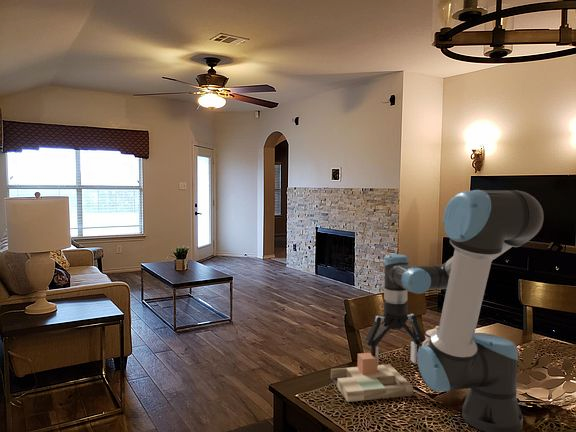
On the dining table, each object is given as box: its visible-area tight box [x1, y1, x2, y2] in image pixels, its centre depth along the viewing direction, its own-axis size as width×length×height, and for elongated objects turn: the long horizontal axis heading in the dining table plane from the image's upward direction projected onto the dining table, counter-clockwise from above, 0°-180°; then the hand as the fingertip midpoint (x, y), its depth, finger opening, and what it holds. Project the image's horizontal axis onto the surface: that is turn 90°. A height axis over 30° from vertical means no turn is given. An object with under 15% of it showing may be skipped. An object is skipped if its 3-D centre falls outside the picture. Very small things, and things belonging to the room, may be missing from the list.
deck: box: [330, 363, 414, 403], centre depth 141 cm, size 17×21×3 cm
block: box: [356, 352, 377, 374], centre depth 146 cm, size 5×5×5 cm
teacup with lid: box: [421, 325, 439, 347], centre depth 165 cm, size 12×9×12 cm
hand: (394, 363), depth 148 cm, fingers open, 13 cm apart
